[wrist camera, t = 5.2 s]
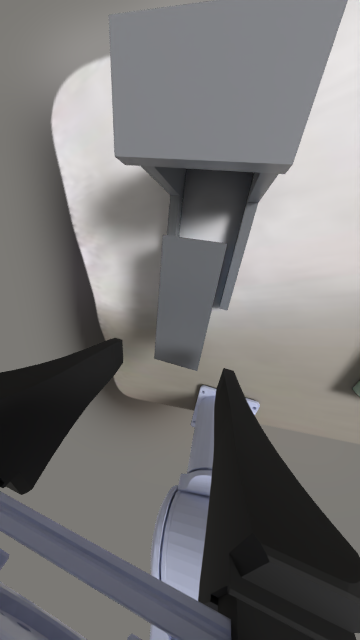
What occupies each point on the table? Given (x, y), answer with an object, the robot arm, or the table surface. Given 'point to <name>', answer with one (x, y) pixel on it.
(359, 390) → the tray
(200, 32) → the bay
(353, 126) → the table surface
